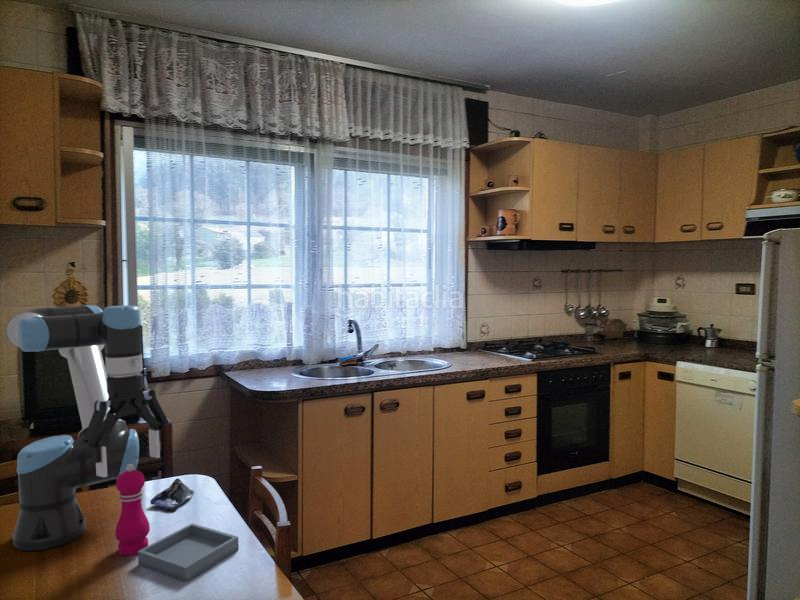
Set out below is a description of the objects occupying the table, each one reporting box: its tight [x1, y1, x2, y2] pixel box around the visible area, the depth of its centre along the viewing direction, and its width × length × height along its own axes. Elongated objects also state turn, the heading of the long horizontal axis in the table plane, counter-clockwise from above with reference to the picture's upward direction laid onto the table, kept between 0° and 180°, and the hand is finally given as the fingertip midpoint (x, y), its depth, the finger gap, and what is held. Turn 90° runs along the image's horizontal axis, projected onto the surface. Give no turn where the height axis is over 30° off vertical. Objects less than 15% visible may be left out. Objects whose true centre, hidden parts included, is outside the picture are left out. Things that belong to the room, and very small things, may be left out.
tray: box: [137, 523, 240, 583], centre depth 130 cm, size 15×15×3 cm
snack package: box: [150, 478, 195, 512], centre depth 159 cm, size 12×6×12 cm
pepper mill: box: [114, 464, 151, 556], centre depth 133 cm, size 7×7×20 cm
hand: (129, 466), depth 132 cm, fingers open, 13 cm apart
